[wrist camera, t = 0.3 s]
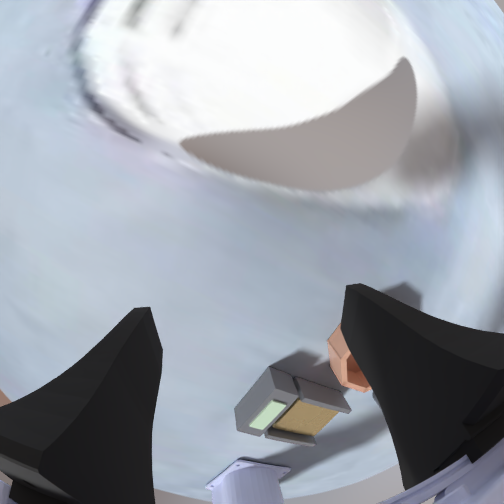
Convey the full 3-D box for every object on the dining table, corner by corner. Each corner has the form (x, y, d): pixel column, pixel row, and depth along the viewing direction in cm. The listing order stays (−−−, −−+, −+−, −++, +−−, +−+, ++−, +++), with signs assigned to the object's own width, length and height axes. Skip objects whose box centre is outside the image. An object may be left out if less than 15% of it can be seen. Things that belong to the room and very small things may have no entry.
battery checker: (305, 427, 26) (313, 448, 22) (234, 408, 23) (237, 432, 20) (340, 391, 25) (352, 411, 22) (268, 366, 23) (275, 390, 20)
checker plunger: (311, 430, 24) (313, 436, 23) (271, 421, 23) (272, 427, 22) (337, 405, 23) (340, 410, 23) (297, 393, 22) (299, 399, 21)
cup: (365, 379, 25) (377, 396, 22) (312, 359, 23) (323, 379, 20) (409, 321, 24) (426, 334, 21) (362, 290, 22) (380, 304, 19)
